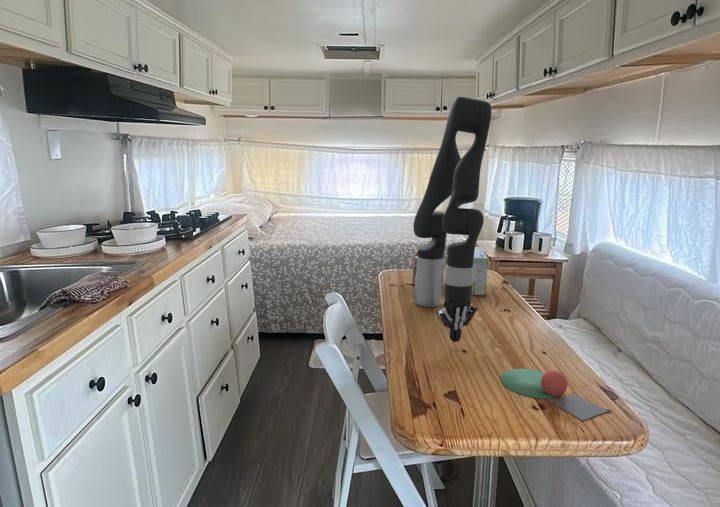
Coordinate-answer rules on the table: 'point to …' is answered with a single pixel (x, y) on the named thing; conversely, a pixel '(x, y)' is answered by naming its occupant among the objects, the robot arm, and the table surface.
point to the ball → (554, 383)
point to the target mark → (525, 382)
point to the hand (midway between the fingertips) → (454, 340)
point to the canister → (416, 268)
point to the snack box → (479, 272)
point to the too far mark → (579, 407)
